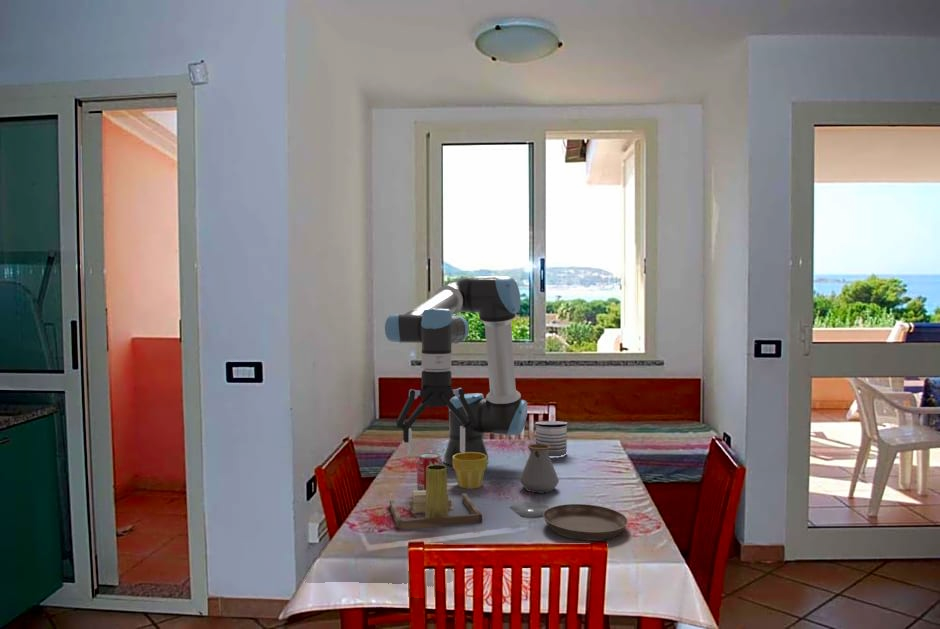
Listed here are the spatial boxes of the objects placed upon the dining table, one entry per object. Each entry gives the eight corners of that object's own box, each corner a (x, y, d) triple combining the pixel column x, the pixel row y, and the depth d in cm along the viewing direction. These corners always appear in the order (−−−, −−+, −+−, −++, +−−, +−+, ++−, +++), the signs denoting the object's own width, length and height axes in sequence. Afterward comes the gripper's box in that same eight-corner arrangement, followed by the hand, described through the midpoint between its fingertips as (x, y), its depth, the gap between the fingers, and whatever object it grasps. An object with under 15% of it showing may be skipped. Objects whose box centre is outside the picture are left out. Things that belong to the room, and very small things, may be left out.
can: (533, 457, 236) (533, 423, 236) (537, 450, 247) (537, 417, 247) (565, 459, 234) (566, 425, 233) (568, 451, 245) (568, 419, 244)
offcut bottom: (408, 513, 179) (408, 506, 179) (448, 509, 182) (448, 502, 182) (413, 520, 174) (413, 512, 174) (453, 515, 177) (453, 508, 177)
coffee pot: (521, 482, 205) (521, 434, 205) (559, 484, 204) (559, 435, 203) (514, 504, 184) (515, 450, 184) (557, 507, 183) (557, 452, 182)
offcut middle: (409, 507, 178) (409, 499, 178) (444, 502, 182) (444, 495, 182) (416, 512, 174) (416, 504, 174) (451, 507, 178) (451, 500, 178)
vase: (424, 518, 173) (424, 464, 172) (448, 518, 174) (448, 463, 173) (424, 527, 167) (424, 470, 166) (449, 526, 167) (449, 470, 167)
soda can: (445, 494, 194) (445, 453, 193) (436, 501, 187) (436, 459, 187) (423, 491, 196) (423, 451, 196) (413, 499, 189) (413, 456, 189)
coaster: (504, 505, 184) (504, 504, 184) (542, 502, 186) (542, 501, 186) (516, 518, 173) (516, 517, 173) (556, 515, 176) (556, 513, 176)
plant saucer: (610, 513, 178) (610, 501, 178) (640, 543, 157) (640, 529, 157) (534, 517, 175) (534, 504, 175) (555, 547, 155) (555, 533, 155)
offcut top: (412, 498, 179) (412, 490, 179) (446, 496, 181) (446, 489, 180) (413, 502, 175) (413, 495, 175) (447, 501, 177) (448, 494, 177)
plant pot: (445, 489, 199) (445, 456, 199) (467, 481, 207) (467, 450, 206) (471, 496, 192) (471, 462, 192) (494, 487, 200) (494, 455, 200)
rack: (389, 510, 180) (389, 498, 180) (465, 504, 185) (465, 493, 185) (398, 533, 162) (398, 521, 162) (482, 526, 167) (482, 514, 167)
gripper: (388, 372, 162) (388, 459, 163) (488, 370, 168) (487, 454, 169) (385, 369, 169) (385, 452, 170) (480, 367, 175) (480, 448, 176)
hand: (436, 453), depth 169 cm, fingers open, 13 cm apart
